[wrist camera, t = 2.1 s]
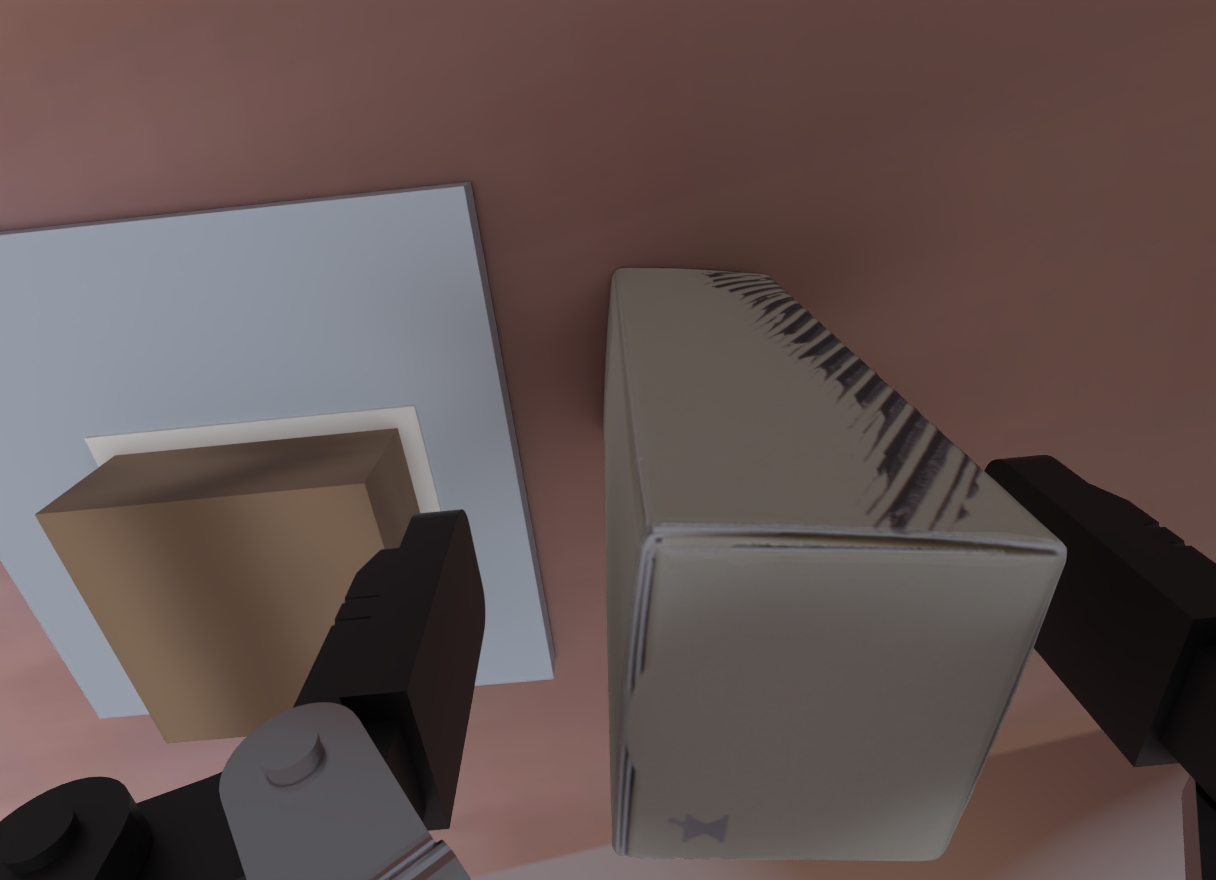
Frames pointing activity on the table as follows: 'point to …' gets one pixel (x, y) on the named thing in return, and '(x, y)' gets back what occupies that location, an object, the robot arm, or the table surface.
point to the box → (795, 587)
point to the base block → (228, 565)
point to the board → (262, 380)
